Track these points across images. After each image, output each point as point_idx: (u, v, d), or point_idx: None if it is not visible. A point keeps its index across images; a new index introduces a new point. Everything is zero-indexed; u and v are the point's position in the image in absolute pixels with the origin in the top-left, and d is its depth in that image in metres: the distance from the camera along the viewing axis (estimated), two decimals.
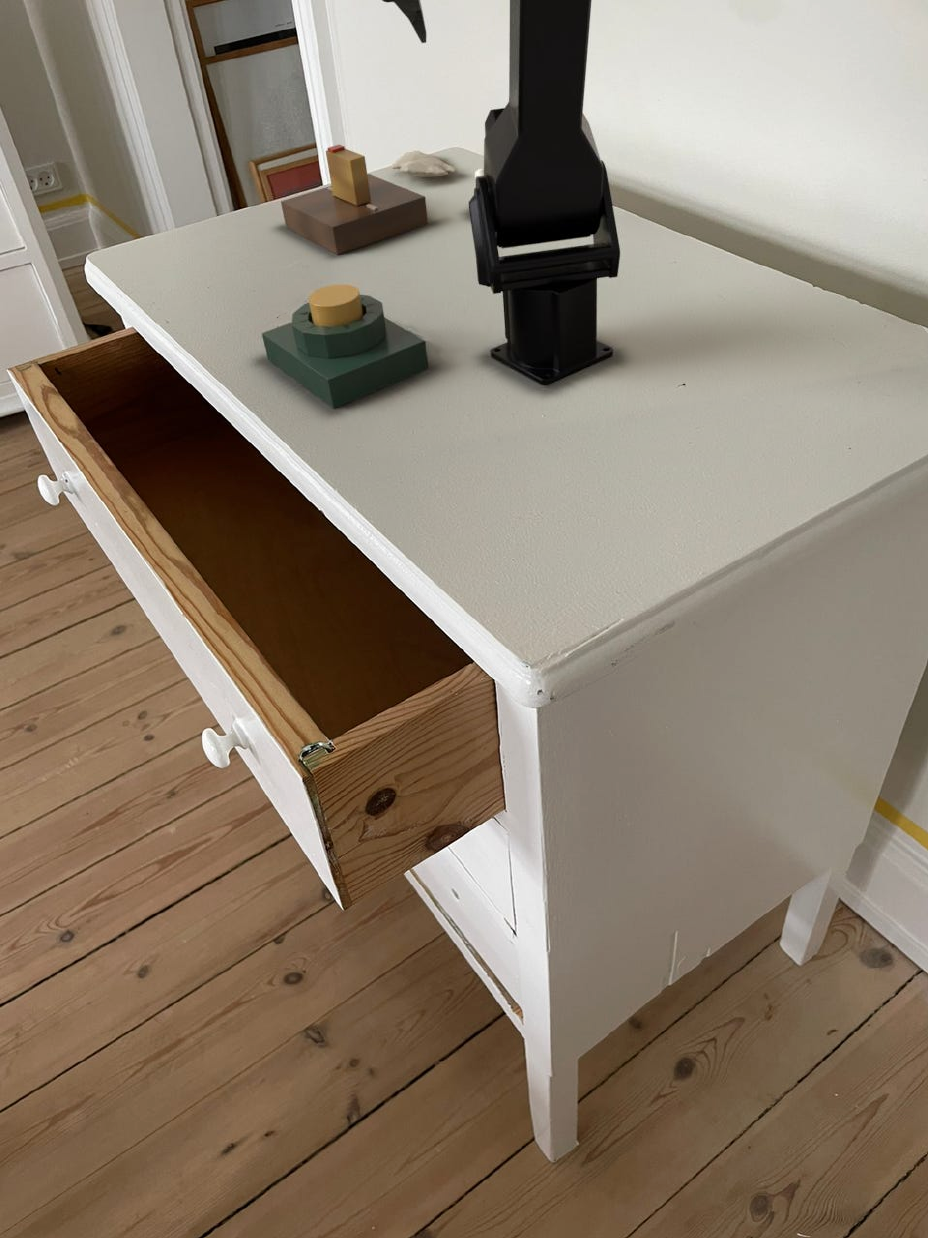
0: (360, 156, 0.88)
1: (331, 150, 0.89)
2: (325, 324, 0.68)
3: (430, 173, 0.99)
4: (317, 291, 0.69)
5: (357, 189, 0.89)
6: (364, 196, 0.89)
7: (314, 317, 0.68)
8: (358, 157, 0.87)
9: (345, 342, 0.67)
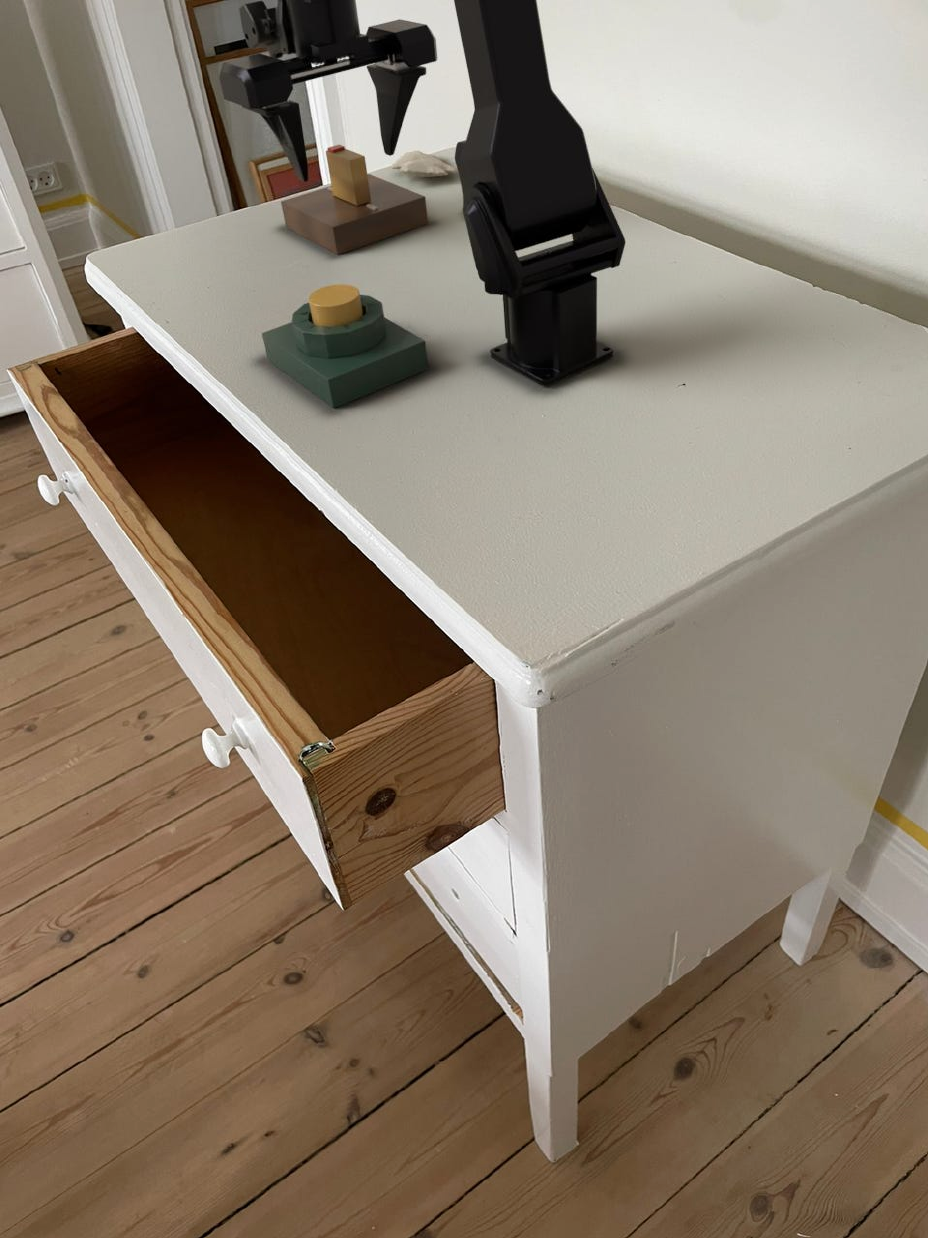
0: (360, 156, 0.88)
1: (331, 150, 0.89)
2: (325, 324, 0.68)
3: (430, 173, 0.99)
4: (317, 291, 0.69)
5: (357, 189, 0.89)
6: (364, 196, 0.89)
7: (314, 317, 0.68)
8: (358, 157, 0.87)
9: (345, 342, 0.67)
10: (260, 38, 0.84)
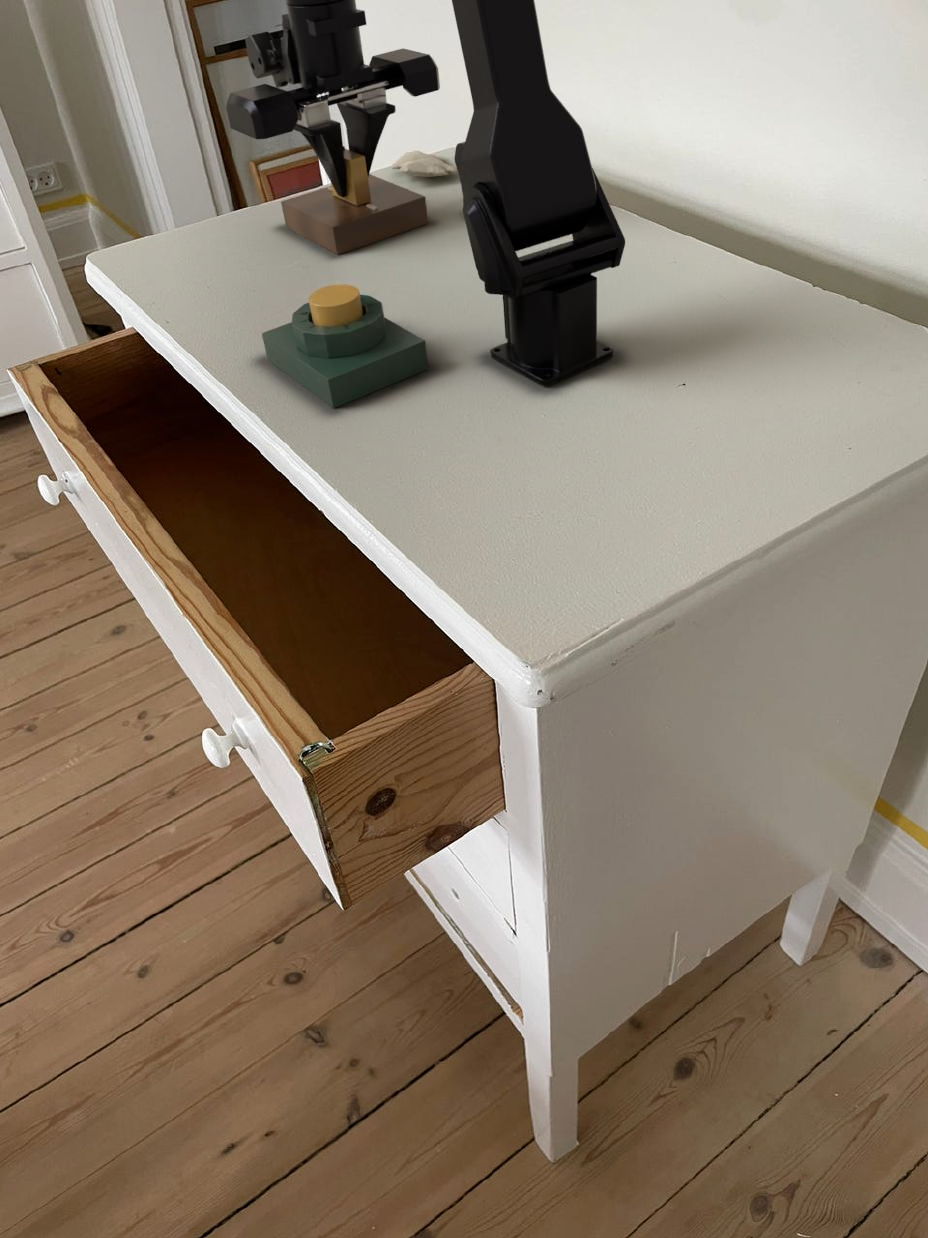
0: (360, 156, 0.88)
1: None
2: (325, 324, 0.68)
3: (430, 173, 0.99)
4: (317, 291, 0.69)
5: (357, 189, 0.89)
6: (364, 196, 0.89)
7: (314, 317, 0.68)
8: (358, 157, 0.87)
9: (345, 342, 0.67)
10: (266, 68, 0.85)
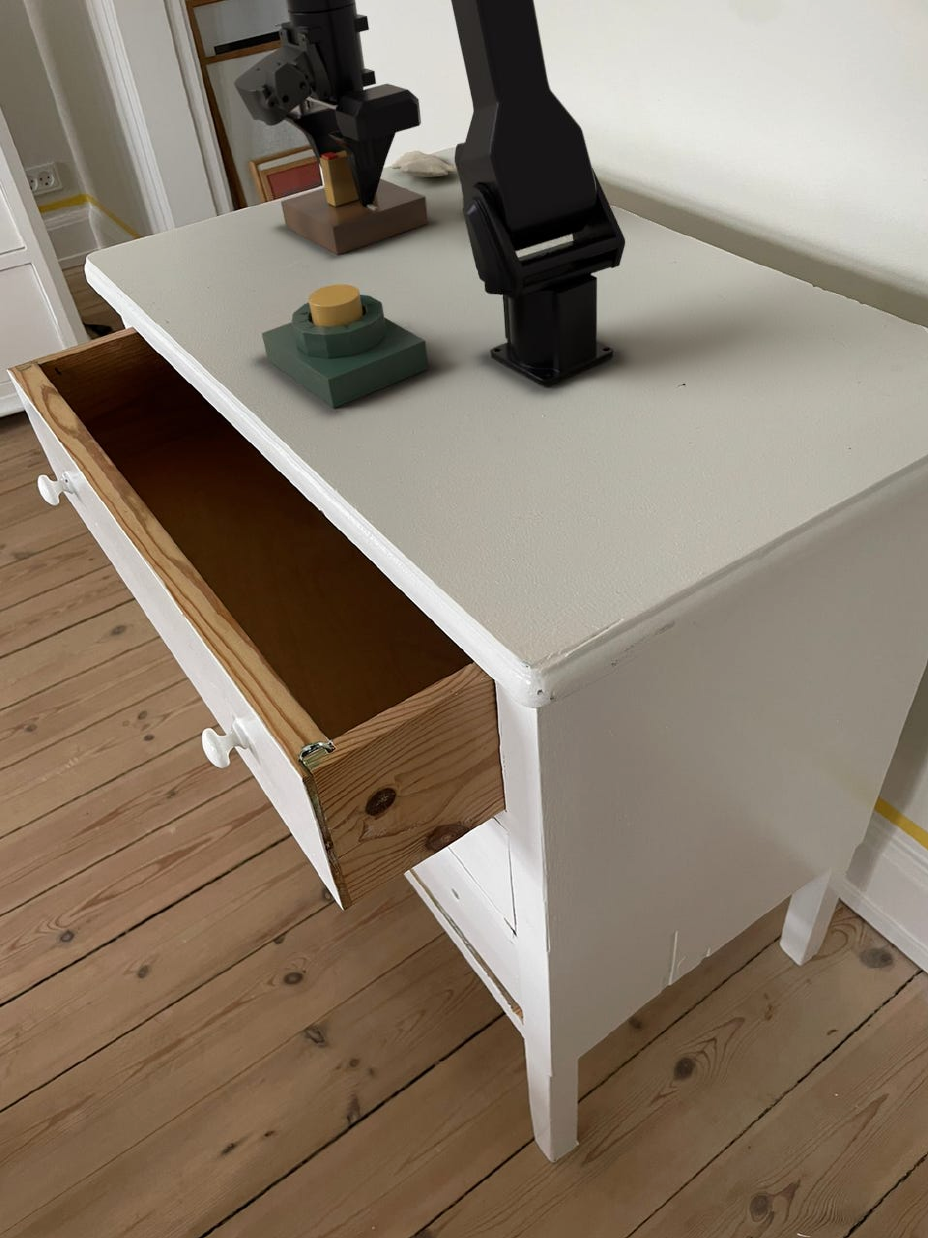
0: None
1: (335, 156, 0.88)
2: (325, 324, 0.68)
3: (430, 173, 0.99)
4: (317, 291, 0.69)
5: None
6: None
7: (314, 317, 0.68)
8: None
9: (345, 342, 0.67)
10: None
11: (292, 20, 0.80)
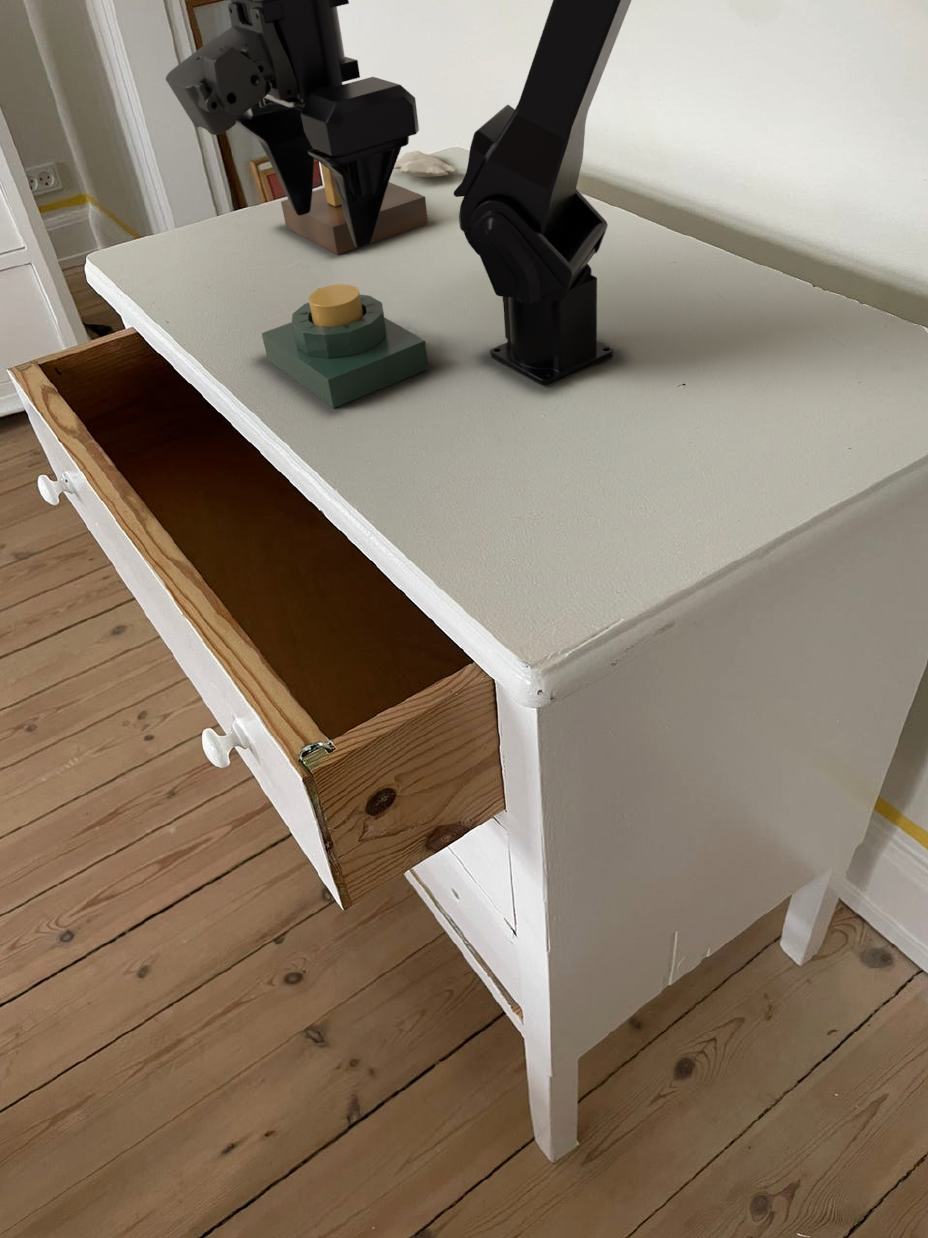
0: None
1: None
2: (325, 324, 0.68)
3: (430, 173, 0.99)
4: (317, 291, 0.69)
5: None
6: None
7: (314, 317, 0.68)
8: None
9: (345, 342, 0.67)
10: None
11: None
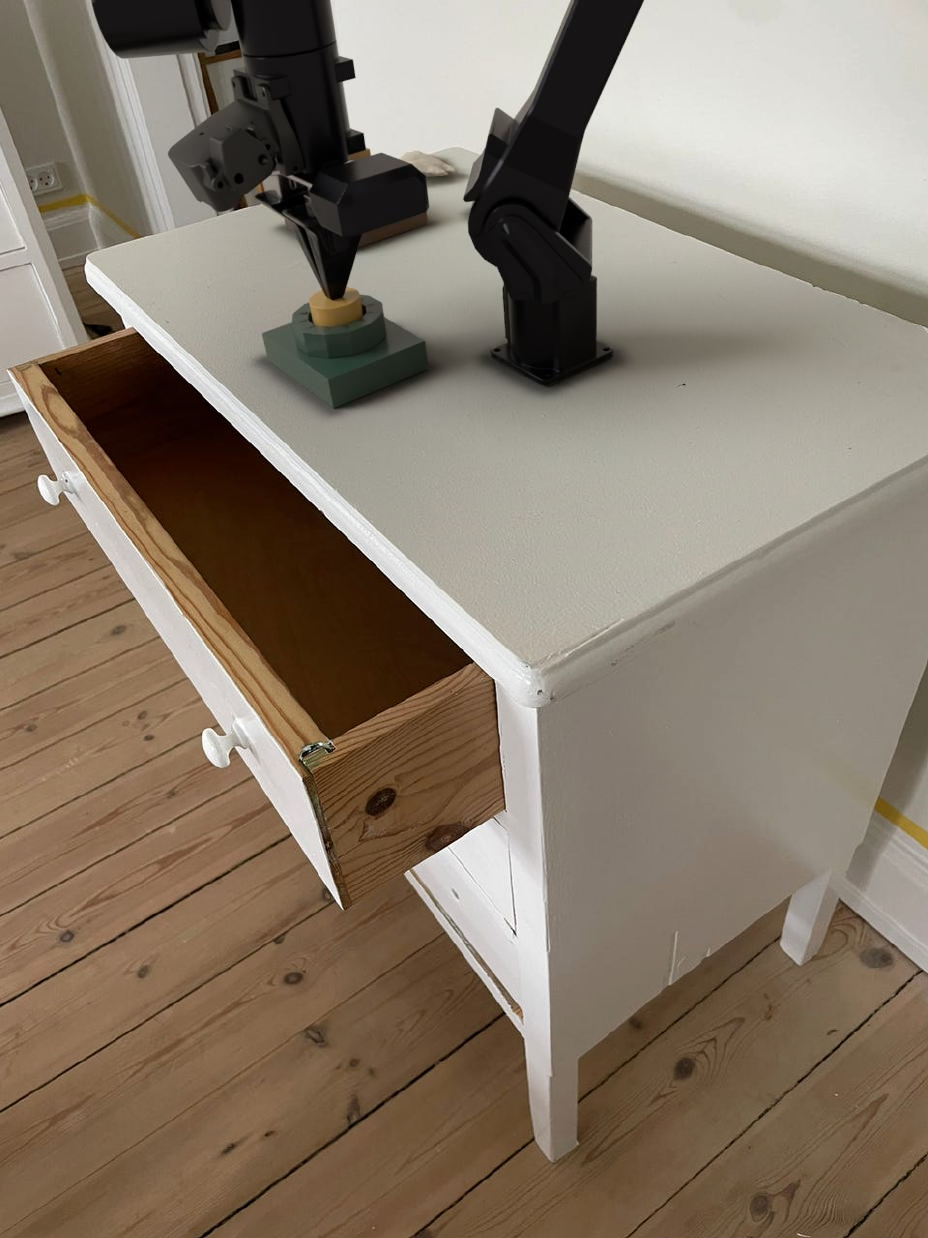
0: None
1: None
2: None
3: (430, 173, 0.99)
4: (317, 293, 0.69)
5: None
6: None
7: (314, 320, 0.68)
8: None
9: (345, 342, 0.67)
10: (272, 165, 0.57)
11: (248, 66, 0.57)
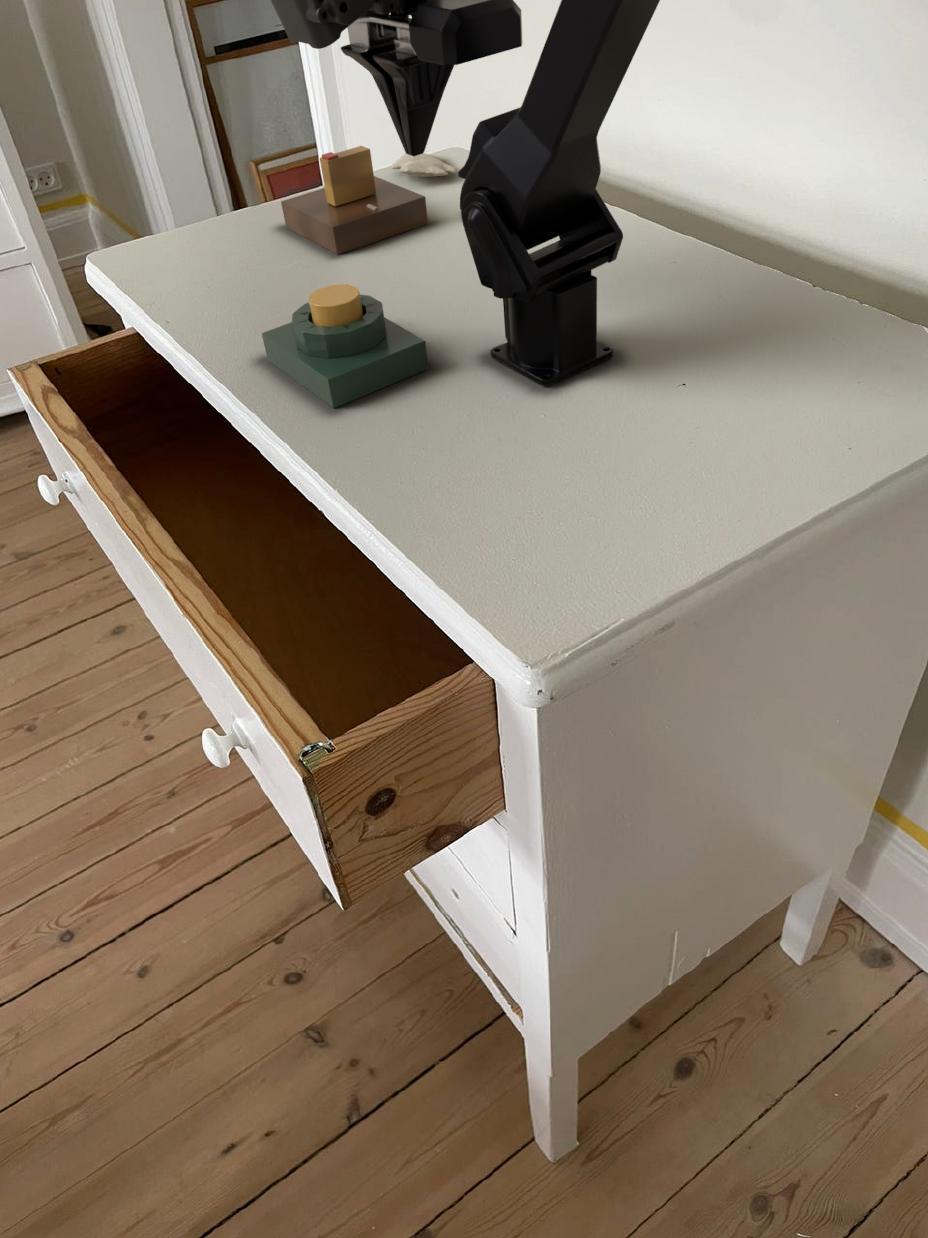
0: (361, 146, 0.90)
1: (335, 156, 0.88)
2: (325, 324, 0.68)
3: (430, 173, 0.99)
4: (317, 291, 0.69)
5: (373, 177, 0.91)
6: None
7: (314, 317, 0.68)
8: None
9: (345, 342, 0.67)
10: None
11: None
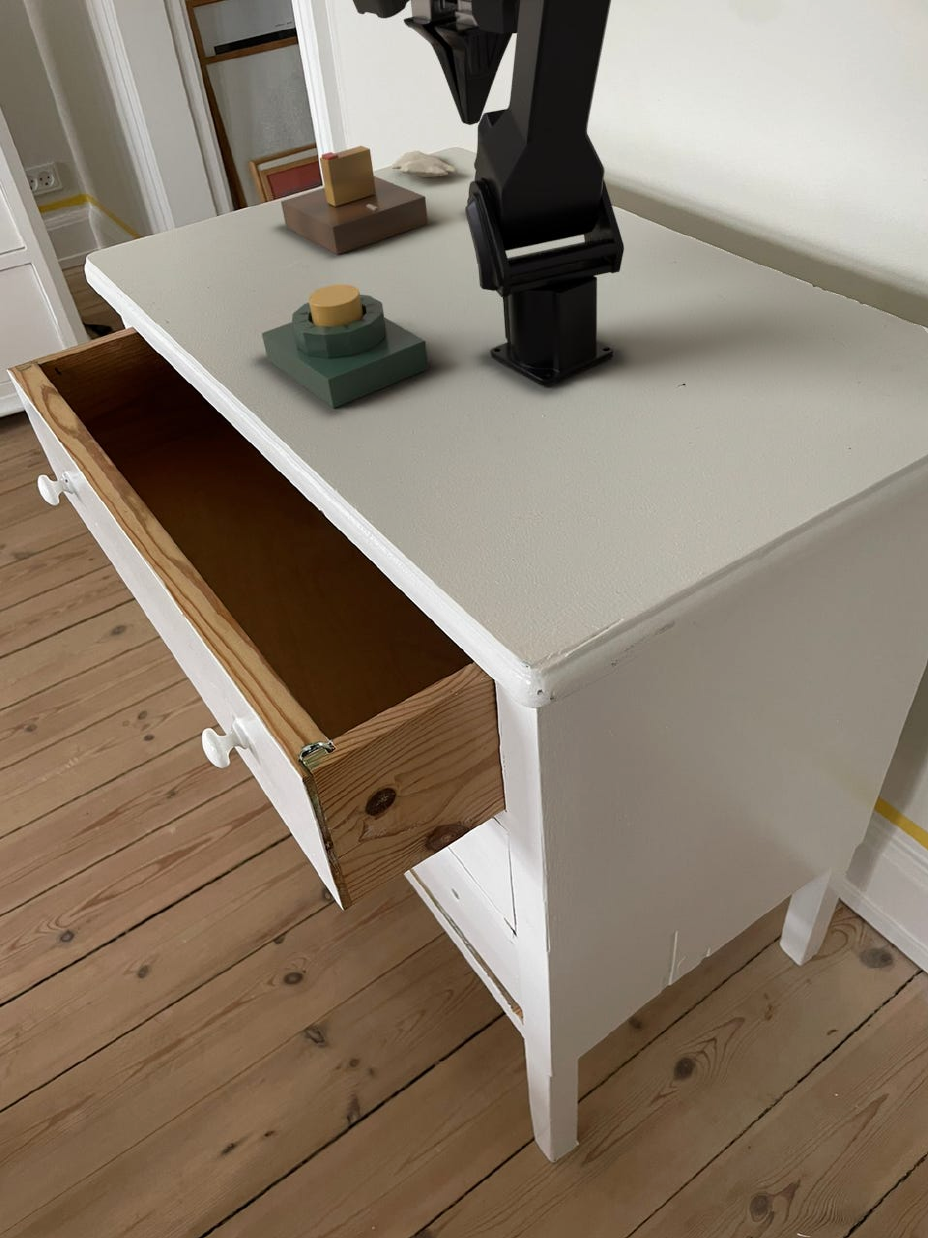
0: (361, 146, 0.90)
1: (335, 156, 0.88)
2: (325, 324, 0.68)
3: (430, 173, 0.99)
4: (317, 291, 0.69)
5: (373, 177, 0.91)
6: None
7: (314, 317, 0.68)
8: None
9: (345, 342, 0.67)
10: None
11: None
